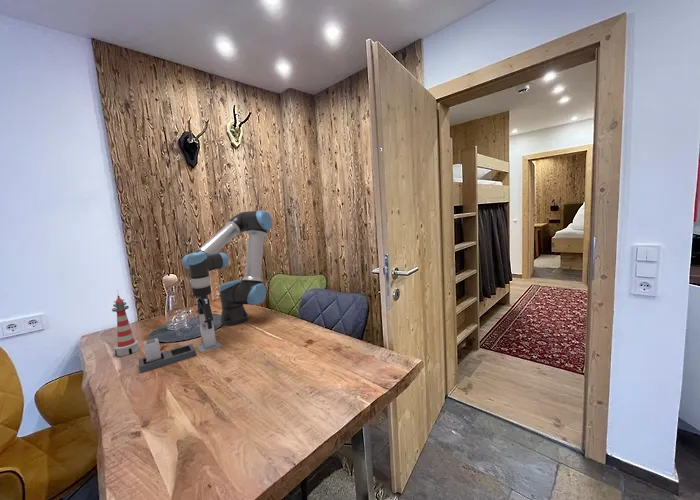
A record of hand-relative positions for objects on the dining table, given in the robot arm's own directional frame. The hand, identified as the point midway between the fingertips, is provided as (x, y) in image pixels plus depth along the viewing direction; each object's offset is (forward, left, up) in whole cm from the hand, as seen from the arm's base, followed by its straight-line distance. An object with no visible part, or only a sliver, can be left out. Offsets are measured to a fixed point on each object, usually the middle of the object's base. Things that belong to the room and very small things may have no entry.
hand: (207, 331), depth 135 cm
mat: (0, 0, -8) cm, 8 cm away
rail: (+17, +2, -8) cm, 18 cm away
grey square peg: (0, 0, -7) cm, 7 cm away
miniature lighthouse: (+31, -24, -8) cm, 40 cm away
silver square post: (+22, +2, -7) cm, 23 cm away
